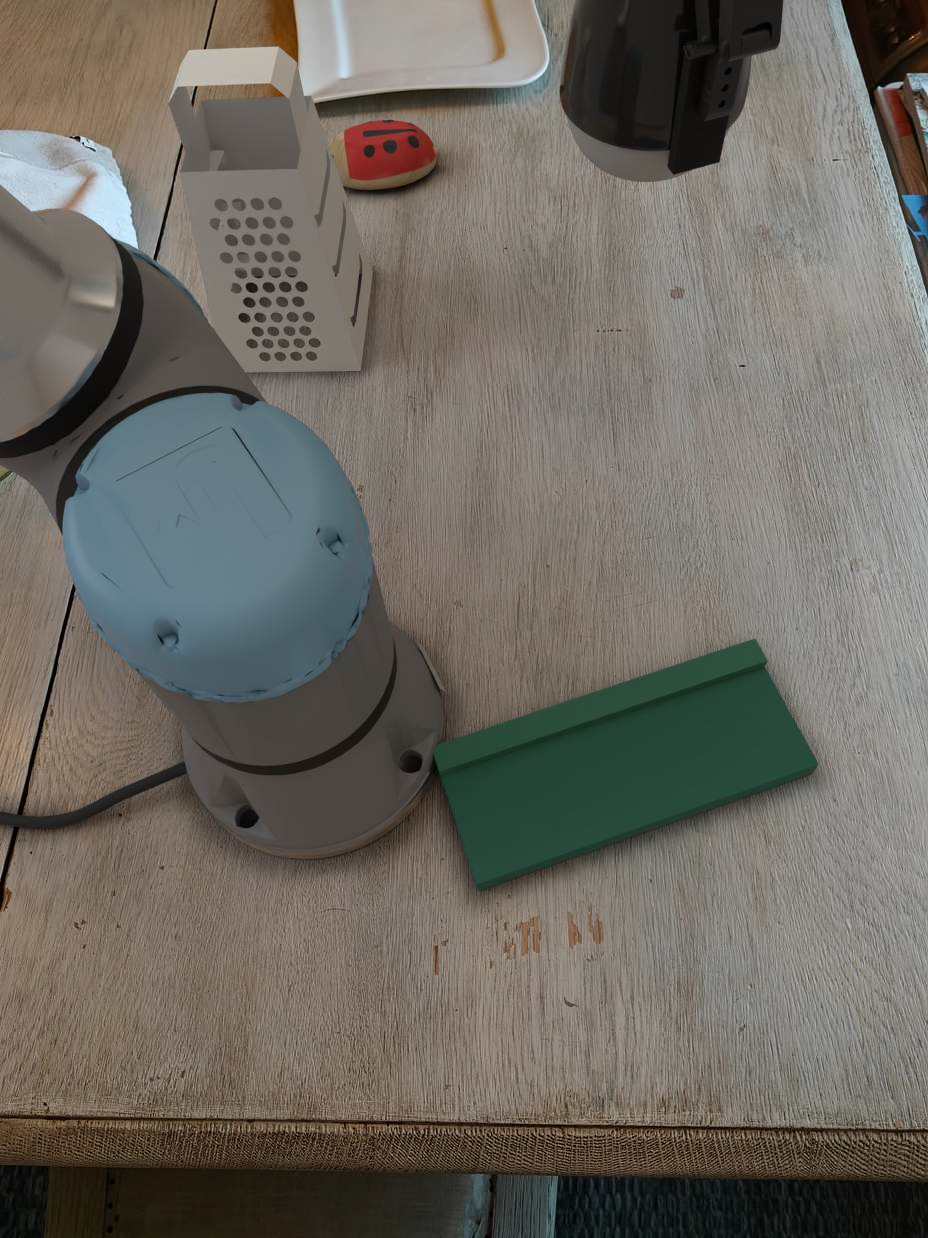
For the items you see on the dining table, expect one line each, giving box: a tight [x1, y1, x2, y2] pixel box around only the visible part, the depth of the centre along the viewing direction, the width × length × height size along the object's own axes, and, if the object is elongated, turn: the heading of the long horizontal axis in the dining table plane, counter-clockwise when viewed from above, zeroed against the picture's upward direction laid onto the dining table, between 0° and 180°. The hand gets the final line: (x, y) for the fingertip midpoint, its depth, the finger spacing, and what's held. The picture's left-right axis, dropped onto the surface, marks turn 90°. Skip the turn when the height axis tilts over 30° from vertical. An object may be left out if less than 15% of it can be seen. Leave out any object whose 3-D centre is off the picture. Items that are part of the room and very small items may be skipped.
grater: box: [167, 46, 374, 374], centre depth 65 cm, size 10×10×20 cm
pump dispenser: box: [558, 0, 753, 183], centre depth 49 cm, size 10×10×15 cm
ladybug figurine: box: [329, 119, 441, 191], centre depth 81 cm, size 7×10×4 cm
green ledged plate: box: [433, 638, 819, 892], centre depth 54 cm, size 20×8×2 cm, turn 108°
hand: (649, 108), depth 54 cm, fingers closed on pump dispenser, 10 cm apart
